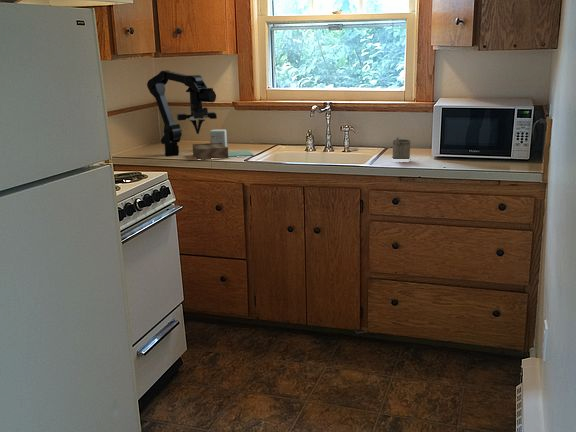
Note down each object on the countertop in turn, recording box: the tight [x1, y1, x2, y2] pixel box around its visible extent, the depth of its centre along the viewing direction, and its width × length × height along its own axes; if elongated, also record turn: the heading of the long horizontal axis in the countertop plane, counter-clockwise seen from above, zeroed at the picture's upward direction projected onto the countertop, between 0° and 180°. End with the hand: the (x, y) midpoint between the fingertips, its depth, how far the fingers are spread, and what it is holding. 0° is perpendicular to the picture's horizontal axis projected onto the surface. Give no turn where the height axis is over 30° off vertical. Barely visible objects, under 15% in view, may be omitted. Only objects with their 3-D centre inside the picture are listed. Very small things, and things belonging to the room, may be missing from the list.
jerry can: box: [391, 137, 412, 159], centre depth 294 cm, size 14×10×12 cm
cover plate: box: [228, 149, 255, 158], centre depth 318 cm, size 13×13×2 cm
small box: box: [209, 129, 228, 147], centre depth 333 cm, size 8×6×10 cm
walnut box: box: [192, 142, 229, 160], centre depth 314 cm, size 15×16×6 cm
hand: (197, 133), depth 309 cm, fingers closed
